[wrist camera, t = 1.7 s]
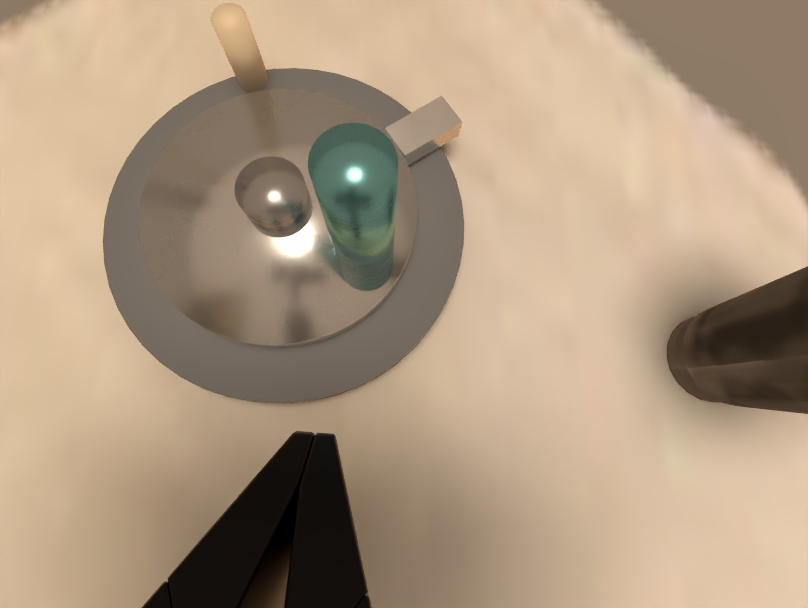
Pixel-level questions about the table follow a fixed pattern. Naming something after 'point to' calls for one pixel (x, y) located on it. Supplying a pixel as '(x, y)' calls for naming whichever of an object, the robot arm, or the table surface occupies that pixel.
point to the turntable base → (292, 366)
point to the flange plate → (286, 213)
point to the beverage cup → (748, 348)
